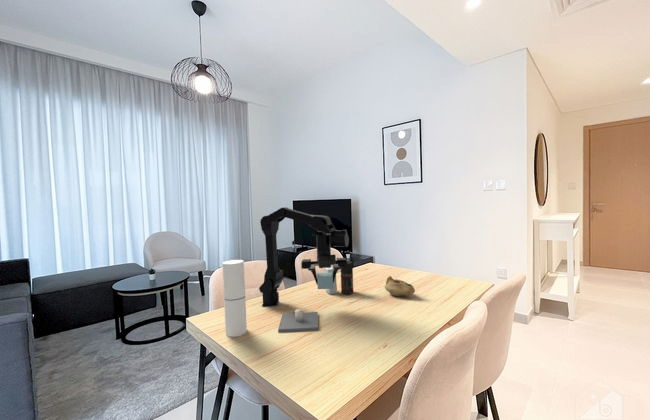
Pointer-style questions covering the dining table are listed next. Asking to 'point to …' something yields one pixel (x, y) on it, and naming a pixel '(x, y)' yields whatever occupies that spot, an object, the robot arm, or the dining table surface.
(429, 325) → the dining table surface
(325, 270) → the skincare box
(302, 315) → the post stand
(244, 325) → the cylindrical container
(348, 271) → the deodorant
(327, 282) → the pale blue cube
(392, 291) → the brown lumpy piece
